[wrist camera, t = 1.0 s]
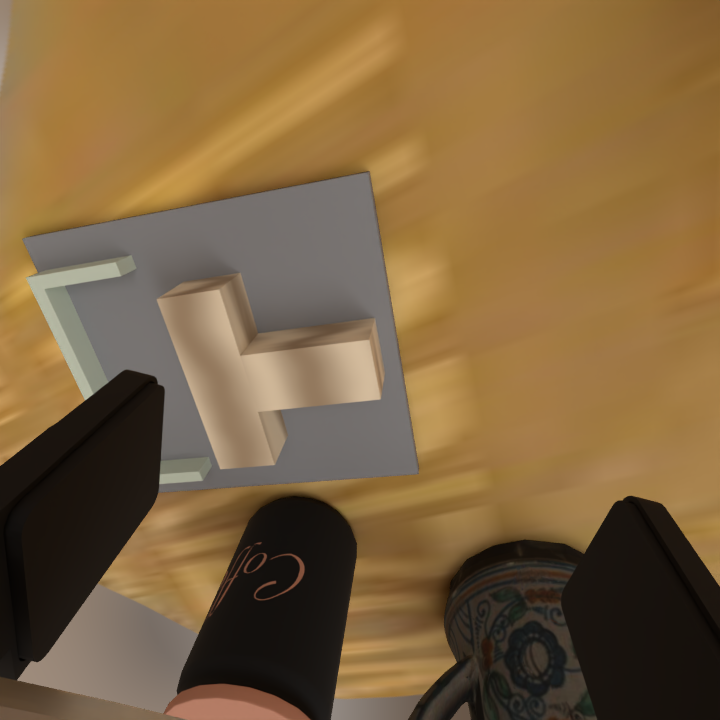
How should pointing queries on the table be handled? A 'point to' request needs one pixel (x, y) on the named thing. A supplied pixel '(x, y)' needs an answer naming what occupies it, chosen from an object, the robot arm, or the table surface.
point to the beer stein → (510, 639)
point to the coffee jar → (274, 620)
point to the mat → (269, 308)
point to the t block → (262, 367)
